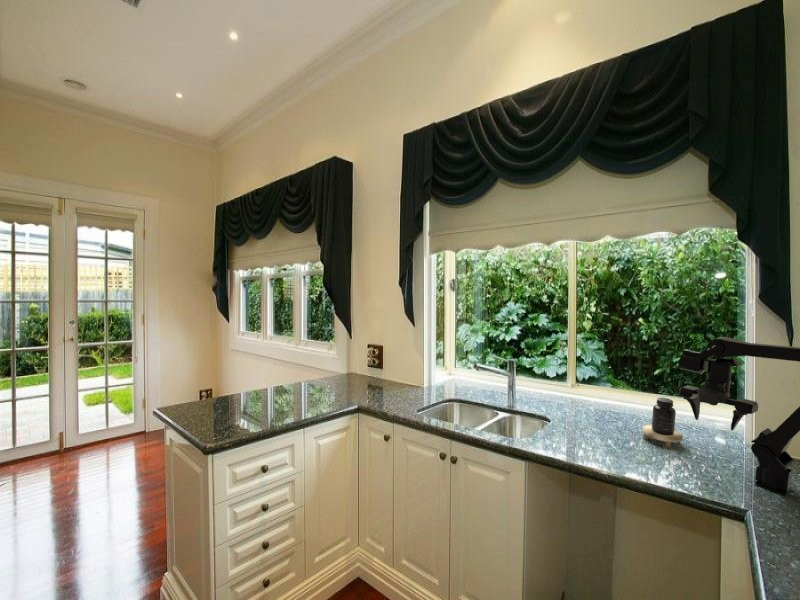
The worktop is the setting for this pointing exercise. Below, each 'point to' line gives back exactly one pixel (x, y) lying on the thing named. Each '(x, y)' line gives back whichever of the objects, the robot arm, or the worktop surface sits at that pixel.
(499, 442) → the worktop surface
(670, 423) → the supplement bottle
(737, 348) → the robot arm
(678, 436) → the stool
